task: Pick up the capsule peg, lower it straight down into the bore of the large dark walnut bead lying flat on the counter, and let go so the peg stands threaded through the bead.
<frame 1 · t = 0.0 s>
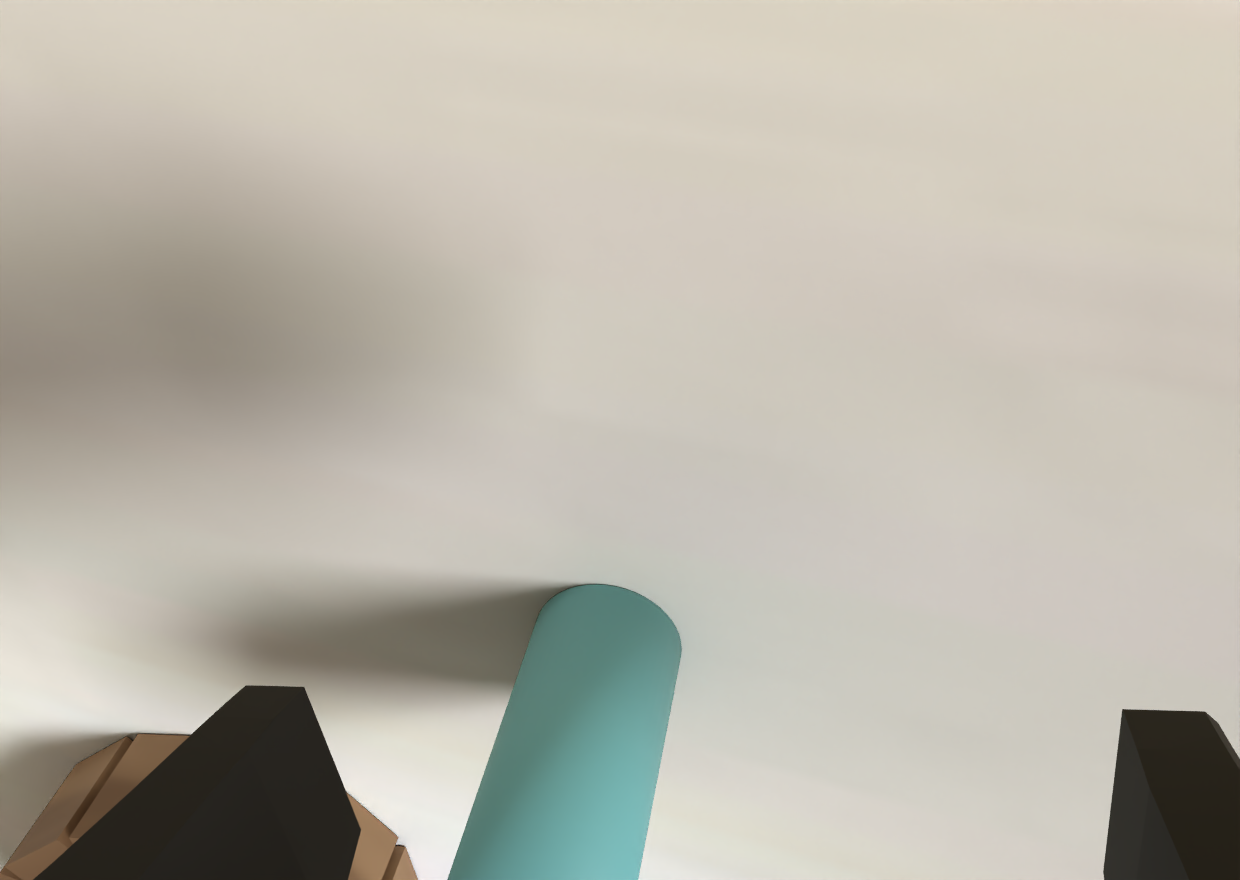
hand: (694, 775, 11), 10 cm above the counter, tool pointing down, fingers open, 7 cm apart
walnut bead: (243, 864, 31), on the counter
capsule peg: (607, 641, 24), on the counter
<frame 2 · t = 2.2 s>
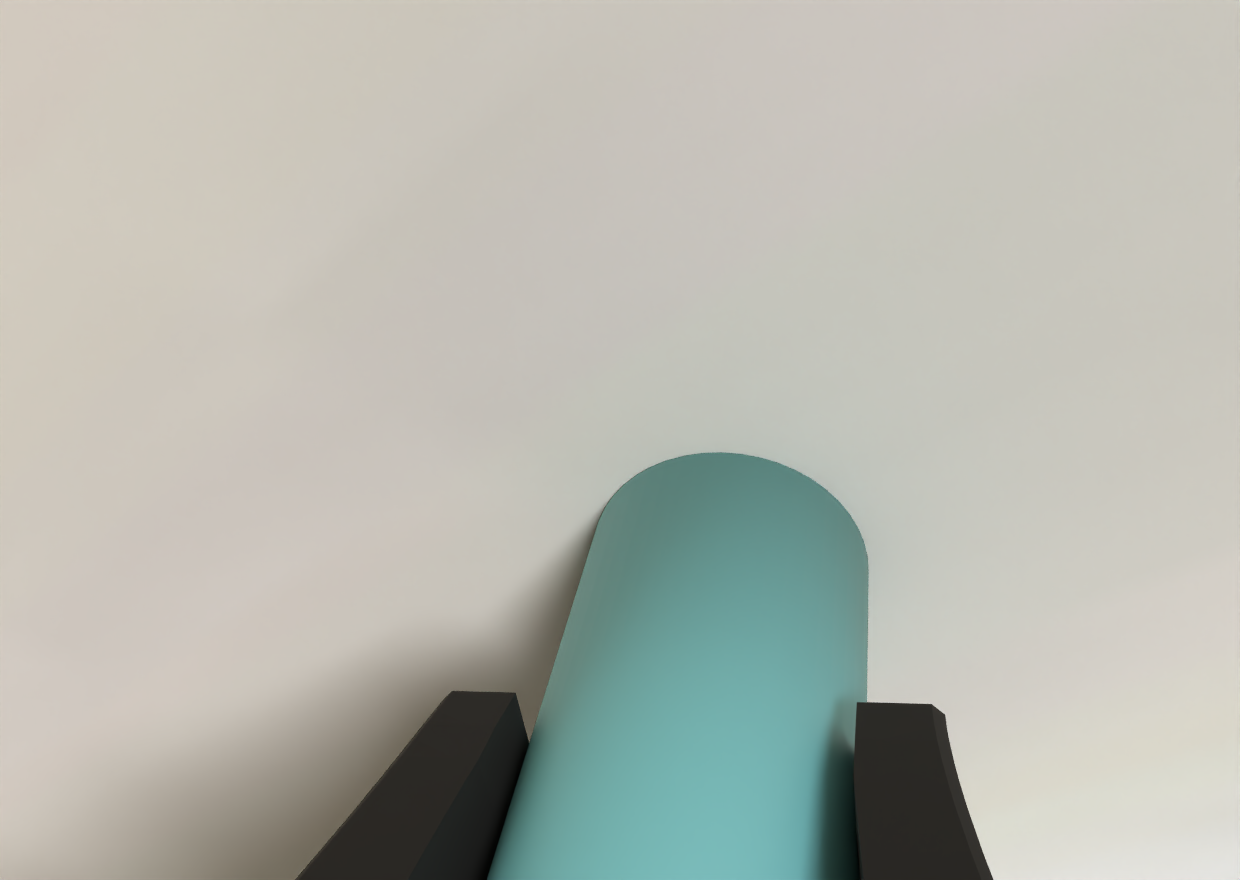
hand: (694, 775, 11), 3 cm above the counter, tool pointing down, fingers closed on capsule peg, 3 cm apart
capsule peg: (728, 565, 13), on the counter, touching gripper
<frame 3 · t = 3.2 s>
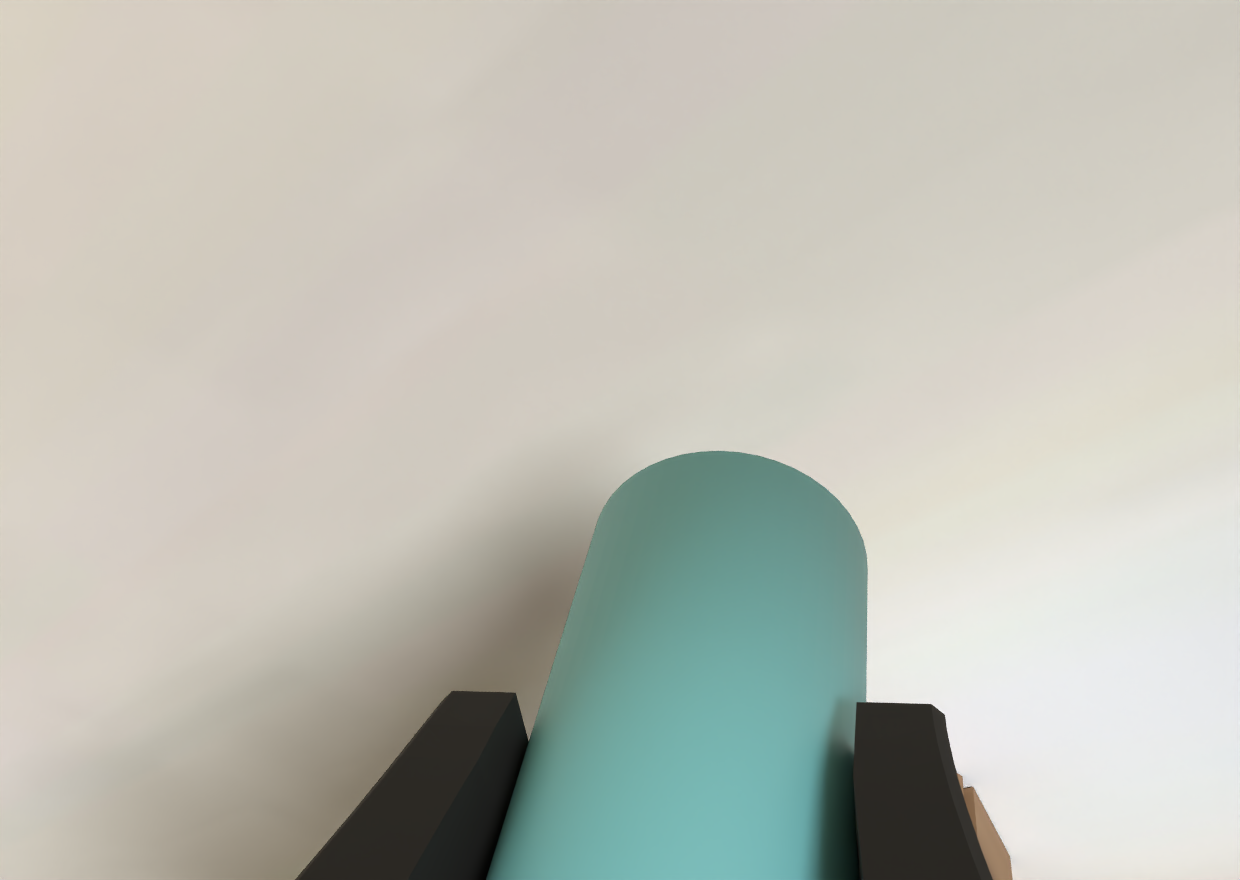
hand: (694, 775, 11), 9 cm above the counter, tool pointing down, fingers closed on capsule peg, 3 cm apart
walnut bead: (771, 862, 26), on the counter
capsule peg: (727, 563, 13), point 6 cm above the counter, touching gripper
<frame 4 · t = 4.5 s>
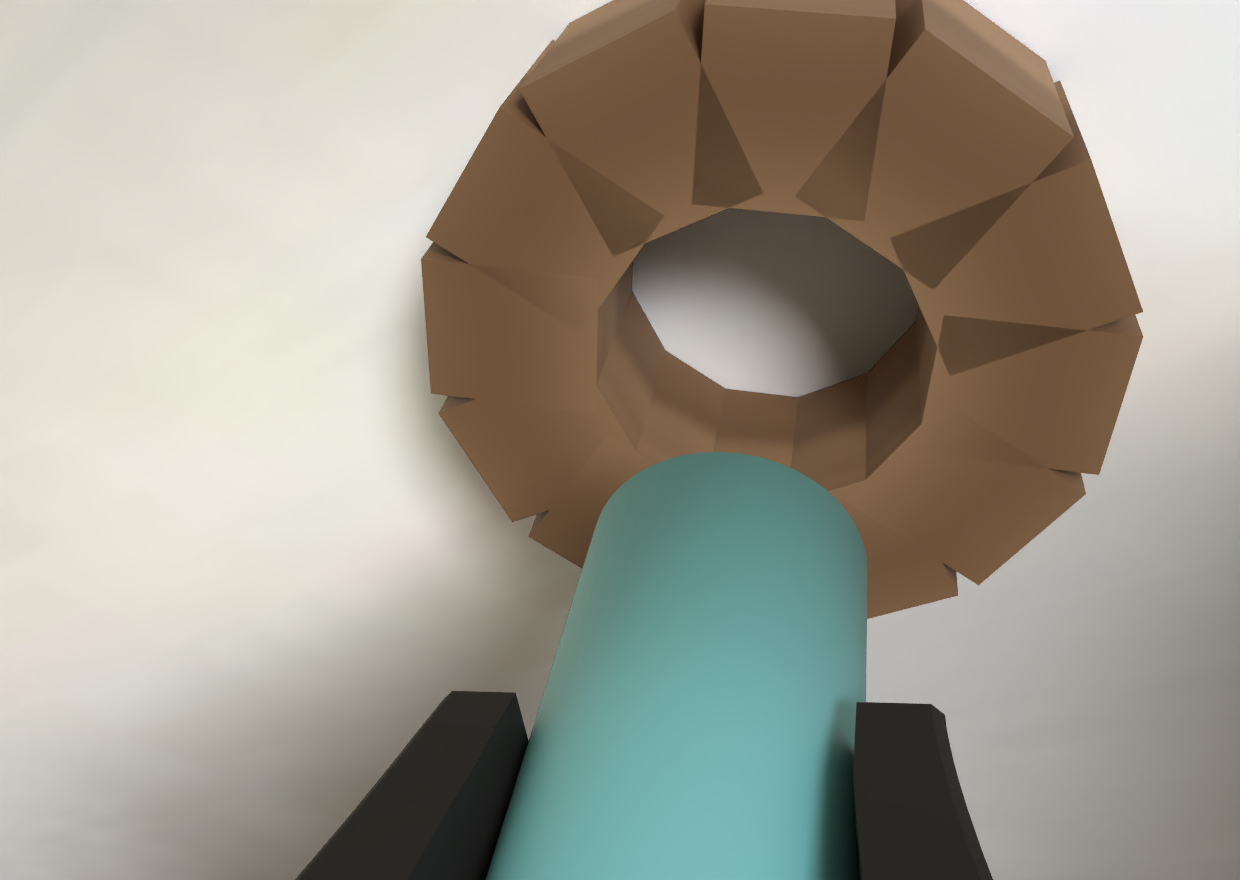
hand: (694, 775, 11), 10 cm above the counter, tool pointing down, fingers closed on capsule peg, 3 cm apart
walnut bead: (775, 271, 19), on the counter
capsule peg: (727, 564, 13), point 7 cm above the counter, touching gripper
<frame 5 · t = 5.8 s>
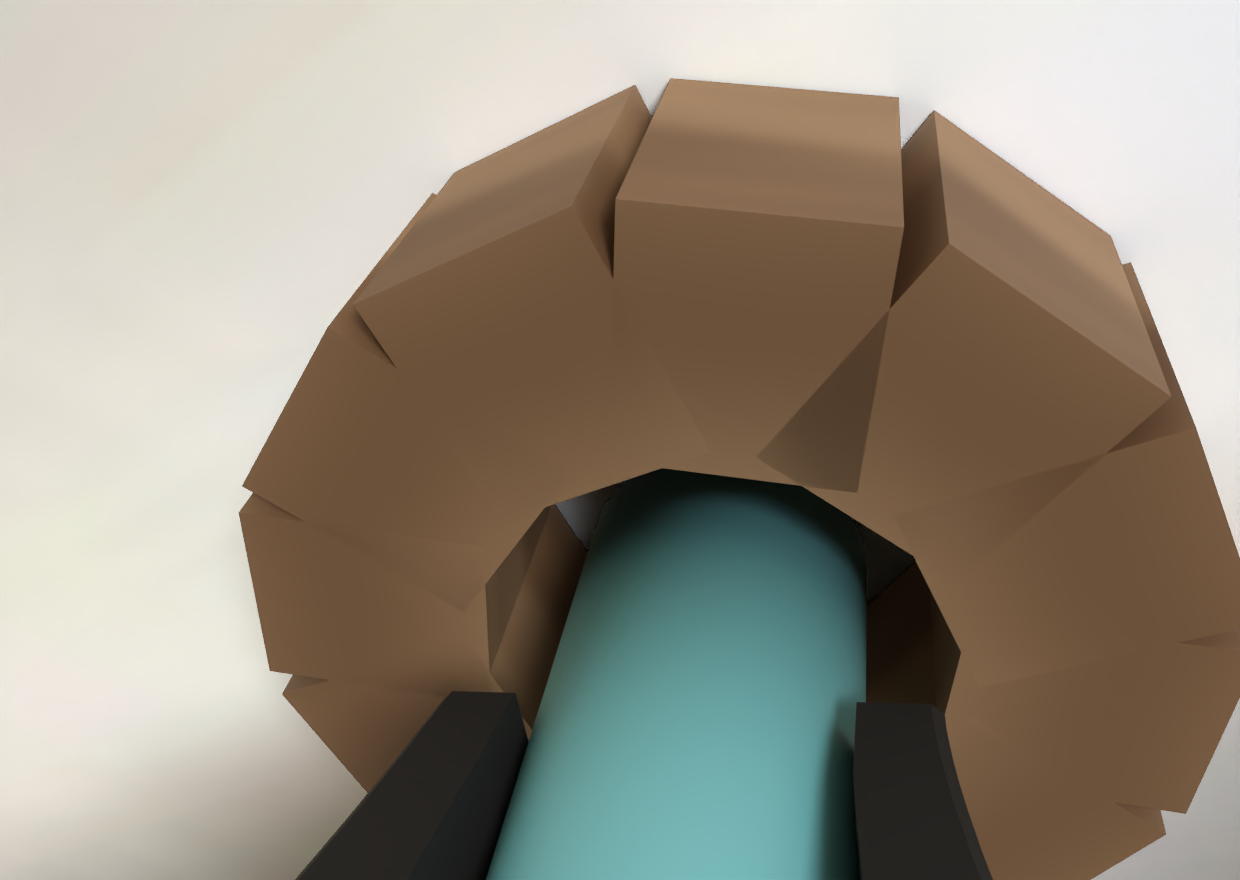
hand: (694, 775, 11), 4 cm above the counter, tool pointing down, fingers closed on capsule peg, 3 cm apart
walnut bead: (740, 485, 14), on the counter
capsule peg: (727, 564, 13), point 1 cm above the counter, touching gripper
when the fingers open (4 cm above the counter, at t = 6.8 s): capsule peg drops 1 cm, resting in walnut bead.
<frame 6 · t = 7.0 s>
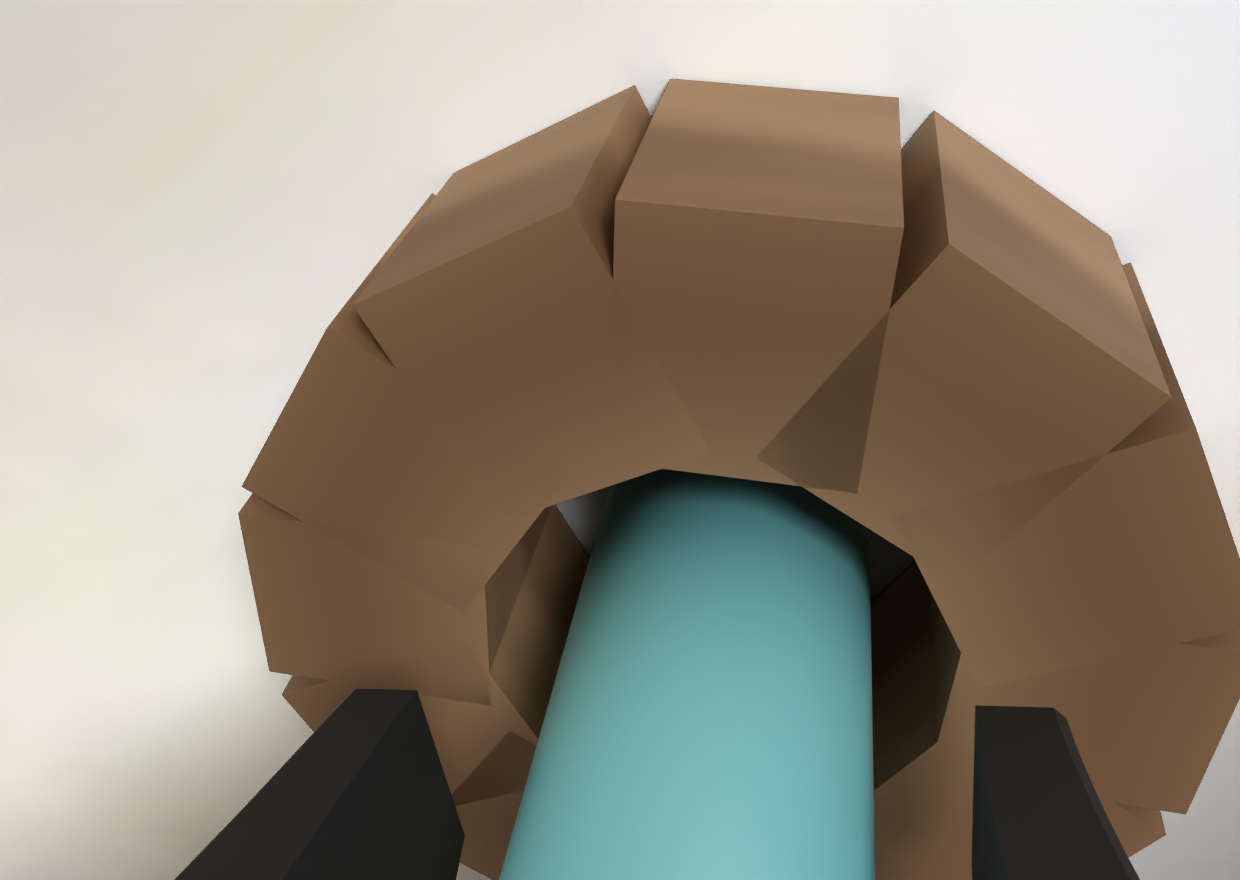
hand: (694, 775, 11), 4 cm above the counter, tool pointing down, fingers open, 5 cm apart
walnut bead: (740, 485, 14), on the counter
capsule peg: (740, 485, 14), resting in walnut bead
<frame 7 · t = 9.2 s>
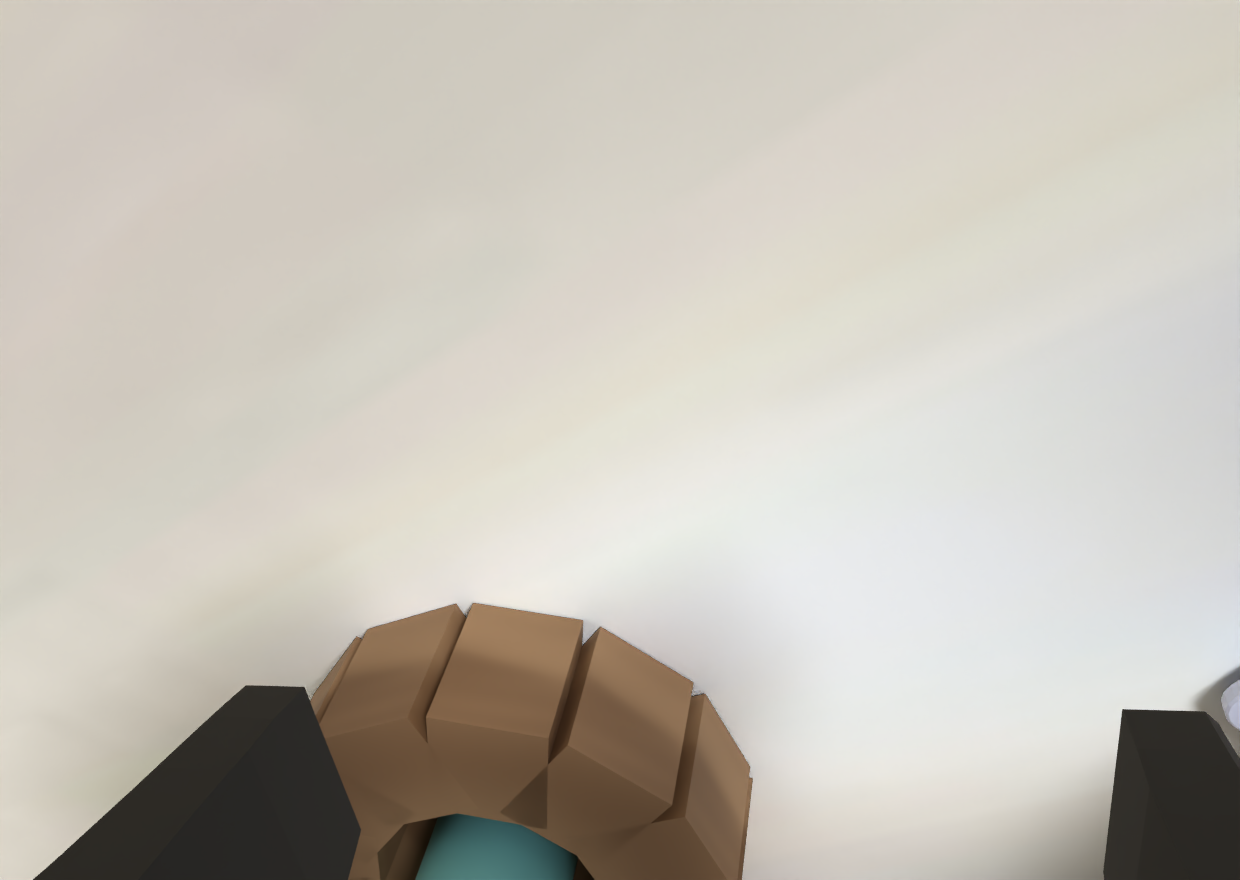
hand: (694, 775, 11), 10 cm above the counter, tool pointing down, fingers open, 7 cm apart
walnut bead: (527, 773, 26), on the counter
capsule peg: (527, 773, 26), resting in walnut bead
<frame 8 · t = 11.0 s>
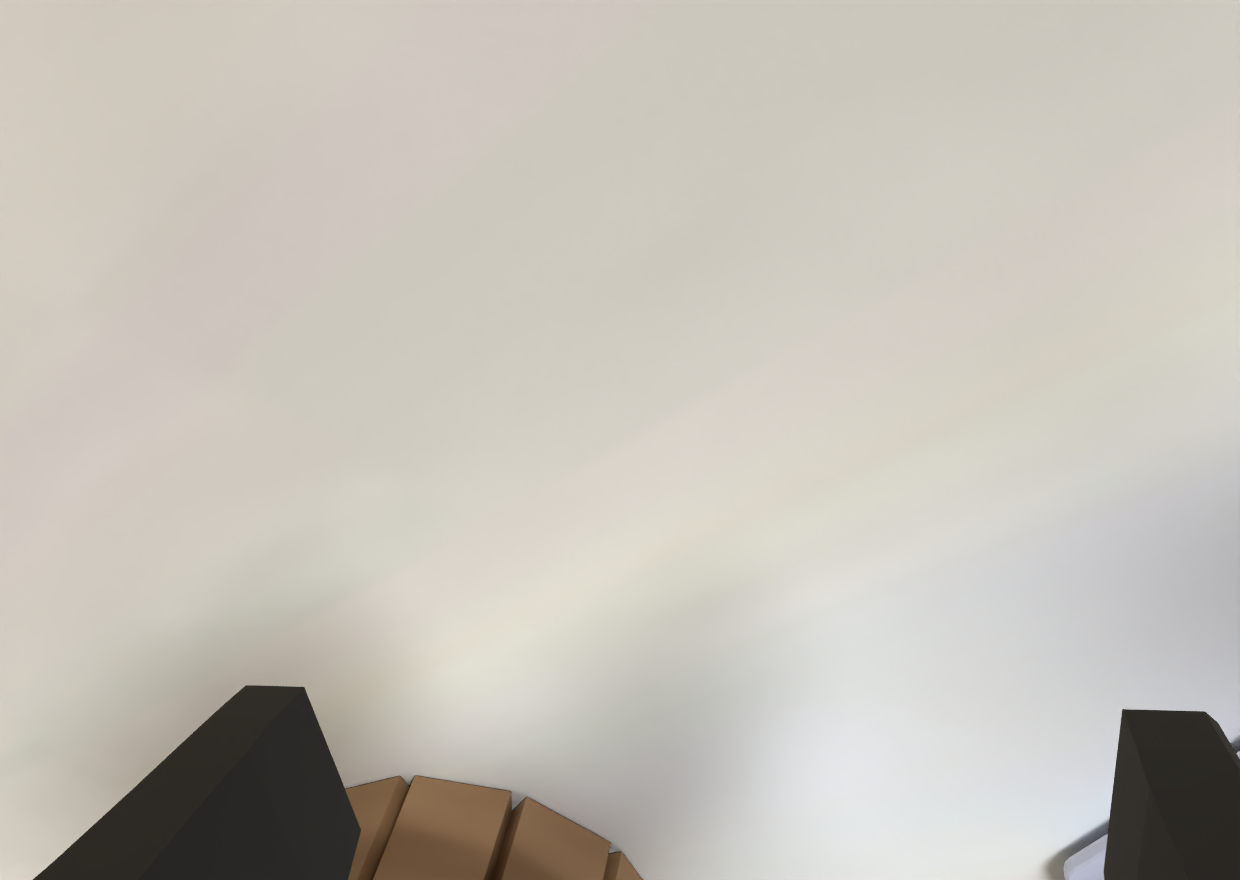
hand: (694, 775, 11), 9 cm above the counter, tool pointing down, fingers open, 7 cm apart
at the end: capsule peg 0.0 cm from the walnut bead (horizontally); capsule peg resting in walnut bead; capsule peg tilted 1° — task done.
